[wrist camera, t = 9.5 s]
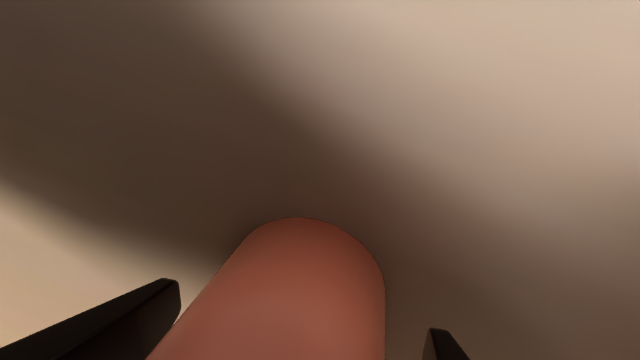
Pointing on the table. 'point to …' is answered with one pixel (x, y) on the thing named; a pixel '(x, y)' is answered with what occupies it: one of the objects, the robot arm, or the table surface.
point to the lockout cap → (286, 300)
